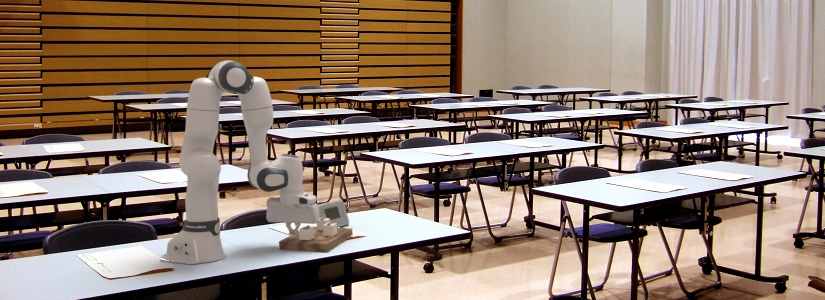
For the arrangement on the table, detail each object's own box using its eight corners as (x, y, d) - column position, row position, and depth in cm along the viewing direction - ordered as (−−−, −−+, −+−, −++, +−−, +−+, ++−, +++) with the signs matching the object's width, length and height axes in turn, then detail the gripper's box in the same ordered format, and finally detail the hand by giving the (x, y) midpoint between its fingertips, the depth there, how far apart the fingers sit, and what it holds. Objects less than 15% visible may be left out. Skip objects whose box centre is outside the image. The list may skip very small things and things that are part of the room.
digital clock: (322, 232, 336) (321, 206, 335) (309, 229, 343) (308, 203, 341) (354, 226, 347) (353, 201, 345) (341, 223, 353) (340, 198, 352)
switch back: (316, 230, 326) (316, 218, 325) (320, 228, 329) (320, 216, 329) (326, 230, 325) (326, 219, 324) (330, 228, 328) (329, 216, 328)
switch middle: (323, 235, 316) (323, 223, 316) (327, 233, 320) (327, 221, 320) (333, 236, 315) (332, 224, 315) (337, 233, 319) (336, 221, 318)
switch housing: (279, 249, 310) (278, 241, 310) (307, 233, 335) (307, 225, 334) (327, 252, 305) (327, 243, 304) (352, 235, 329) (352, 227, 329)
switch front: (299, 239, 310) (299, 227, 310) (304, 237, 314) (303, 225, 314) (309, 240, 309) (309, 228, 309) (314, 237, 313) (313, 225, 313)
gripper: (262, 198, 311) (264, 235, 313) (313, 200, 306) (315, 237, 307) (270, 195, 317) (271, 231, 319) (320, 196, 312) (322, 233, 313)
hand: (293, 234), depth 313 cm, fingers closed
